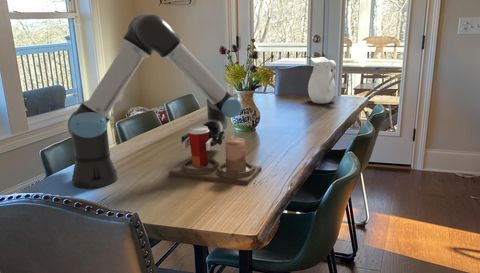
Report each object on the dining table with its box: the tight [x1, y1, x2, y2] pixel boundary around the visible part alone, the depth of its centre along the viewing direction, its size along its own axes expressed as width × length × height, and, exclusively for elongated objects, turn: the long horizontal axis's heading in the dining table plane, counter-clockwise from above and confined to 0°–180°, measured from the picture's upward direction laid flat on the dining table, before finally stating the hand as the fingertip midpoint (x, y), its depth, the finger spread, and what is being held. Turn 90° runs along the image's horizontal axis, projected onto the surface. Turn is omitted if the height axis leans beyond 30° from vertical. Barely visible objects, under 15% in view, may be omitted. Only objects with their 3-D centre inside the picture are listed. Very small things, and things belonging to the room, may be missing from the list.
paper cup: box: [187, 125, 209, 167], centre depth 161 cm, size 8×8×14 cm
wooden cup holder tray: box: [168, 137, 262, 186], centre depth 160 cm, size 15×30×13 cm, turn 69°
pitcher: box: [307, 56, 338, 104], centre depth 278 cm, size 24×17×28 cm
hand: (195, 146), depth 156 cm, fingers closed on paper cup, 8 cm apart
